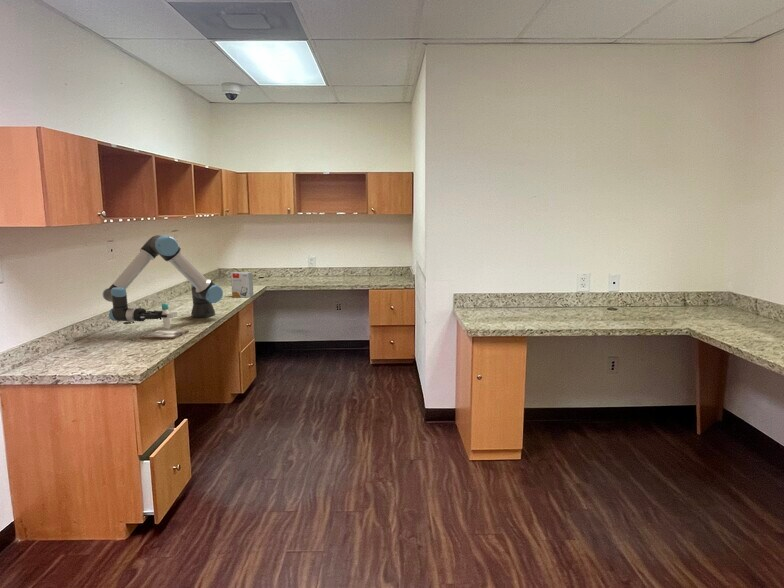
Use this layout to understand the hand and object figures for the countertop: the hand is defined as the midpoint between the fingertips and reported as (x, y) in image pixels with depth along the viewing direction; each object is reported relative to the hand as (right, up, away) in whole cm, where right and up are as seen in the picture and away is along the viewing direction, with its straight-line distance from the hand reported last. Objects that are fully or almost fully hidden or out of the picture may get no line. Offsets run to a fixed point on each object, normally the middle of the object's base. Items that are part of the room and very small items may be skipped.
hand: (174, 315), depth 283 cm
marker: (-5, -7, +2) cm, 9 cm away
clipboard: (-7, -12, +3) cm, 14 cm away
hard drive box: (+2, +9, +123) cm, 124 cm away
